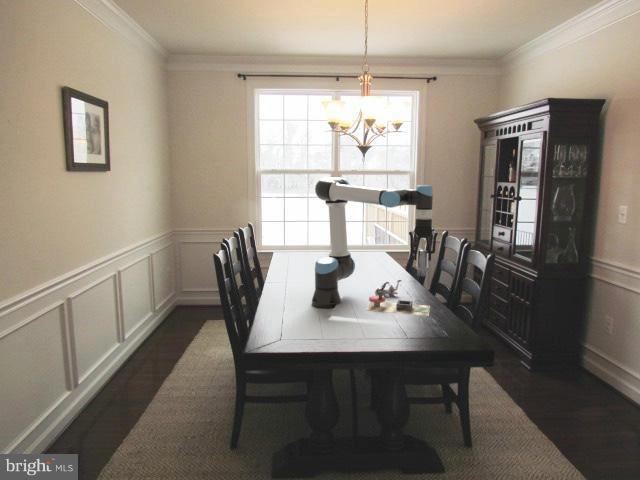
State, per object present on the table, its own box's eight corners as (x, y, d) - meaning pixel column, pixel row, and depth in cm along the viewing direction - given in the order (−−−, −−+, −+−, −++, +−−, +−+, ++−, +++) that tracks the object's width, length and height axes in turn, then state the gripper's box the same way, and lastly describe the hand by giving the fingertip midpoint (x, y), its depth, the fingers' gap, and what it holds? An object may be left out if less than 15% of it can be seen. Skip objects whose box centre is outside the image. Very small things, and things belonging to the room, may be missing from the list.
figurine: (401, 304, 243) (376, 303, 239) (394, 296, 251) (370, 295, 246) (406, 285, 240) (381, 283, 235) (399, 278, 248) (375, 276, 243)
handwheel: (374, 309, 220) (374, 293, 219) (366, 304, 228) (366, 289, 227) (388, 307, 224) (388, 291, 222) (380, 303, 231) (380, 287, 230)
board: (365, 313, 220) (365, 304, 219) (370, 303, 235) (371, 295, 234) (428, 319, 211) (428, 309, 210) (430, 308, 226) (430, 300, 226)
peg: (417, 276, 215) (418, 251, 214) (418, 274, 219) (418, 249, 217) (426, 276, 214) (426, 251, 212) (426, 274, 218) (427, 250, 216)
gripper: (404, 218, 211) (403, 267, 215) (442, 219, 206) (440, 269, 210) (406, 217, 218) (405, 264, 222) (442, 217, 213) (441, 266, 217)
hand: (422, 266), depth 216 cm, fingers closed on peg, 4 cm apart
